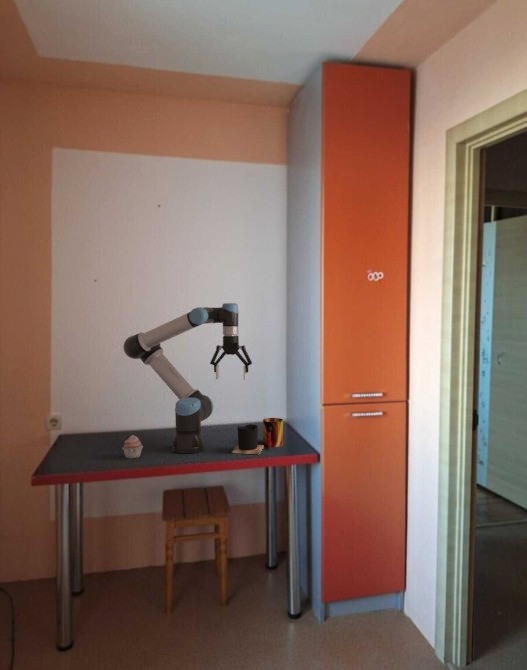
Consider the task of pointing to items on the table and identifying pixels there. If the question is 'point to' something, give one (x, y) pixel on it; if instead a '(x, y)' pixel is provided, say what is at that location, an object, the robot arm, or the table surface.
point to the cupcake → (132, 447)
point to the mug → (273, 432)
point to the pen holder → (248, 437)
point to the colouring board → (255, 451)
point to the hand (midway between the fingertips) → (231, 379)
